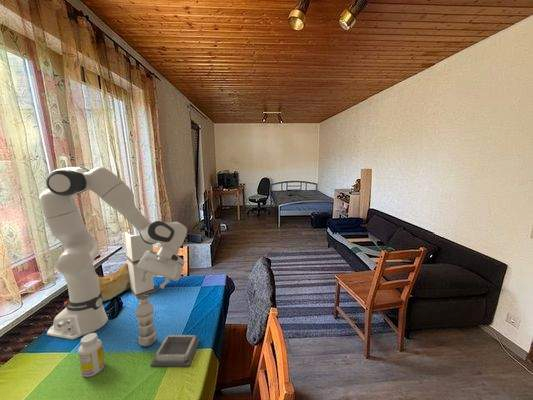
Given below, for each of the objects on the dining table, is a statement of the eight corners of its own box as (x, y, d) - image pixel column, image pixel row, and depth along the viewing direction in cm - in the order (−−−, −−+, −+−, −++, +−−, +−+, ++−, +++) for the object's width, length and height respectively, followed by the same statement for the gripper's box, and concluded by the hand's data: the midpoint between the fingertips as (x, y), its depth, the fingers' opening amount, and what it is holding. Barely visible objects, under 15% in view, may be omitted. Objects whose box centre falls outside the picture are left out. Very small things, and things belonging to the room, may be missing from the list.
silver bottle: (150, 350, 94) (145, 303, 91) (135, 347, 95) (130, 301, 92) (160, 338, 100) (156, 294, 97) (146, 336, 102) (142, 292, 99)
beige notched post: (156, 291, 138) (151, 232, 133) (136, 298, 131) (130, 236, 126) (149, 284, 147) (145, 228, 141) (130, 290, 139) (124, 232, 134)
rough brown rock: (126, 281, 152) (122, 259, 150) (140, 286, 142) (136, 262, 141) (83, 300, 132) (78, 275, 130) (97, 307, 123) (91, 280, 121)
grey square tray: (150, 366, 86) (150, 358, 86) (166, 340, 99) (165, 333, 99) (189, 367, 86) (188, 358, 85) (199, 340, 99) (199, 333, 98)
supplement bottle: (101, 359, 90) (97, 328, 88) (107, 368, 86) (103, 336, 84) (79, 371, 85) (74, 338, 83) (84, 381, 81) (80, 347, 79)
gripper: (143, 247, 111) (127, 276, 105) (183, 259, 108) (169, 290, 102) (149, 251, 116) (134, 279, 110) (187, 262, 113) (174, 292, 107)
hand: (151, 284), depth 106 cm, fingers open, 8 cm apart
